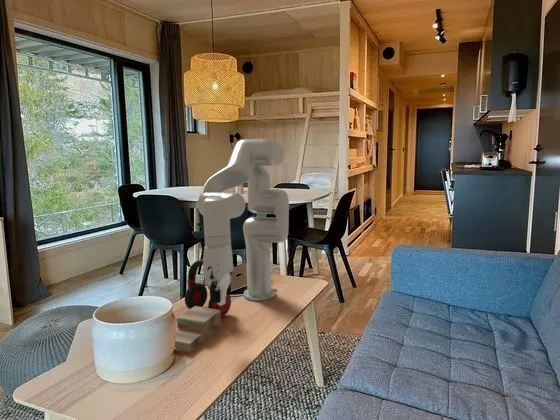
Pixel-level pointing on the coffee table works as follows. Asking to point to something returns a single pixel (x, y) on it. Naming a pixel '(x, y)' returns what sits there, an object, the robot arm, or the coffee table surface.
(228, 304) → the headphones
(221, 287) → the lightbulb
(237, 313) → the coffee table surface
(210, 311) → the stand
